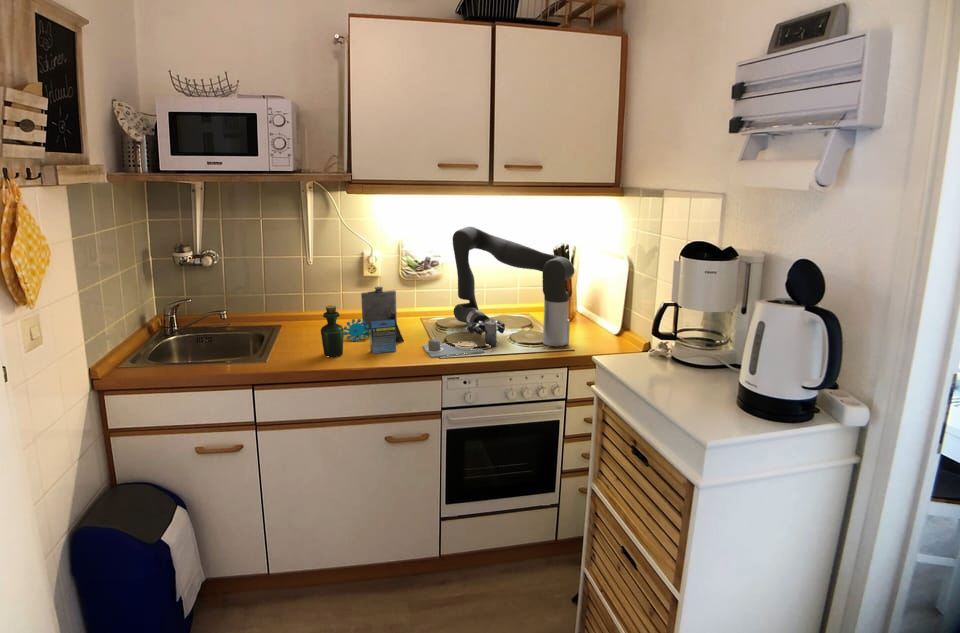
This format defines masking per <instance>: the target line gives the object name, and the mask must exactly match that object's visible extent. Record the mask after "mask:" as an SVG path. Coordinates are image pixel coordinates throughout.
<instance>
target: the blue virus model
mask: <svg viewBox="0 0 960 633" xmlns="http://www.w3.org/2000/svg"><path fill="white" fill-rule="evenodd" d="M363 324H366V322H365V321H363V322H362V318H357V321H356V319H354V318H351V322H350V321H347V322H346V325H347V326H348V327H349V328H347V326H346V325H344V327H343V329H344V335H343V336H346V335H347V336H346V339H347V340H350V339H351V341H352V342H353V341H354V342H355V341H356V339H357V342H362V338H363V339H365V338H369V339H370V330H365V329H364V328H367V329H368V328H369V326H368V325H365V326H363ZM347 331H348V332H347ZM361 336H362V338H361Z"/></svg>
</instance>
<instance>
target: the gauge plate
mask: <svg viewBox="0 0 960 633" xmlns="http://www.w3.org/2000/svg"><path fill="white" fill-rule="evenodd" d="M469 341H470V340H465V341H464V340H463V341H462V342H469ZM457 342H458V343H460V342H461V341H457ZM474 342H475V341H473V342H469V343H473V344H474V345H473V346H471V347H461V346H458V345H457V344H458V343H457V344H454V345H455V348H454V347H452V346H450V345H448V344H446V343H447V342H444V343H442V342H441V340H440V339H438V338H431V339H429V340H428V342H427V343H428V344H422V346H421V347H422V348H423V350H425V352H426V353H427V354H428V356H429V357H430V358H431V359H433V358H443V357H442V356H446V357H448V356H447V355H456V354H464V353H465V354H466V353H476V354H484V353H485V351H484V350H483V349H482V348H481V349H476V350H471V349H473V348H474V347H475V346H476V345H478V344H477V343H476V342H475V343H476V344H475V343H474ZM440 345H441V346H440ZM466 355H467V354H466ZM456 356H457V355H456Z"/></svg>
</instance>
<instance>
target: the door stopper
mask: <svg viewBox="0 0 960 633" xmlns="http://www.w3.org/2000/svg"><path fill="white" fill-rule="evenodd" d="M389 311H390V312H391V313H390V312H389ZM389 311H388V310H386V311H385V312H384V314H385V318H384V320H395V317H396V316H395V314H394V313H393V312H392V311H391V310H389ZM390 314H391V315H390ZM389 315H390V316H389ZM382 325H387V323H383V324H382ZM395 334H396V344H397V343H398V344H399V343H404V342H405V341H404V338H403V335H402V334H401V331H400V328H399V326H398V323H396V320H395Z"/></svg>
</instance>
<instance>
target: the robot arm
mask: <svg viewBox="0 0 960 633" xmlns="http://www.w3.org/2000/svg"><path fill="white" fill-rule="evenodd" d="M452 248H453V252H454V260H455V265H456V271H457V273H456V274H457V297H458V298H459V299H460V300H464V301H468V302H465V303H458V304H456V305H454V308H453V315H454V318H455V319H456V320H457V321H459V322H461V323H465V324H466V330H467V332H468V333H470V334H473V333H474V334H477V335H479V336H482V335H483V333H485V320H488V319H490V316H488V315H487V314H485V313H484V312H482V310H481V311H480V310H479V306H478V304H477V299H476V295H475V293H476V291H475V290H476V289H475V287H476V286H475V284H476V283H475V277H474V274H473V273H474V272H473V271H472V268H471V265H470V262H469V259H470V258H469V255H470V251H471V250H474V249H476V250H481V251H484V252H487V253H489V254H491V255H492V256H493V257H494V258H495V260H497V261H498V262H500V263H501V264H505V265H507V266H510V267H513V268H517V269H523V270H526V269H527V270H532V271H533V270H534V271H539V272H542V293H543V298H544V300H543V302H544V303H543V304H544V305H543V332H542V344H544V345H545V346H549V347H562V346H566V345H570V329H571V326H570V325H571V320H570V319H569V300H570V295H569V292H568V291H566V281H567V280H569V279H570V278H571V277H572V276H573V274H574V265H573V263H572V262H571V260H570V259H568V258H566V257H564V256H559V255H555V254H549V253H545V252H542V251H540V250H537V249H534V248H532V247H529V246H526V245H523V244H520V243H518V242H516V241H512V240H508V239H505V238H502V237H500V236H499V237H498V236H495V235H493V234H490V233H487V232H486V231H484V230H481V229H480V228H476V227H474V226H466V227H463V228H460V229H458V230H456V231H455V232H454V233H453V236H452ZM505 326H506V323H505V322H502V321H501V320H498V319H497V331H498V332H499V333H500V334H503V333H505V330H506V329H505V328H506V327H505Z"/></svg>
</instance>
